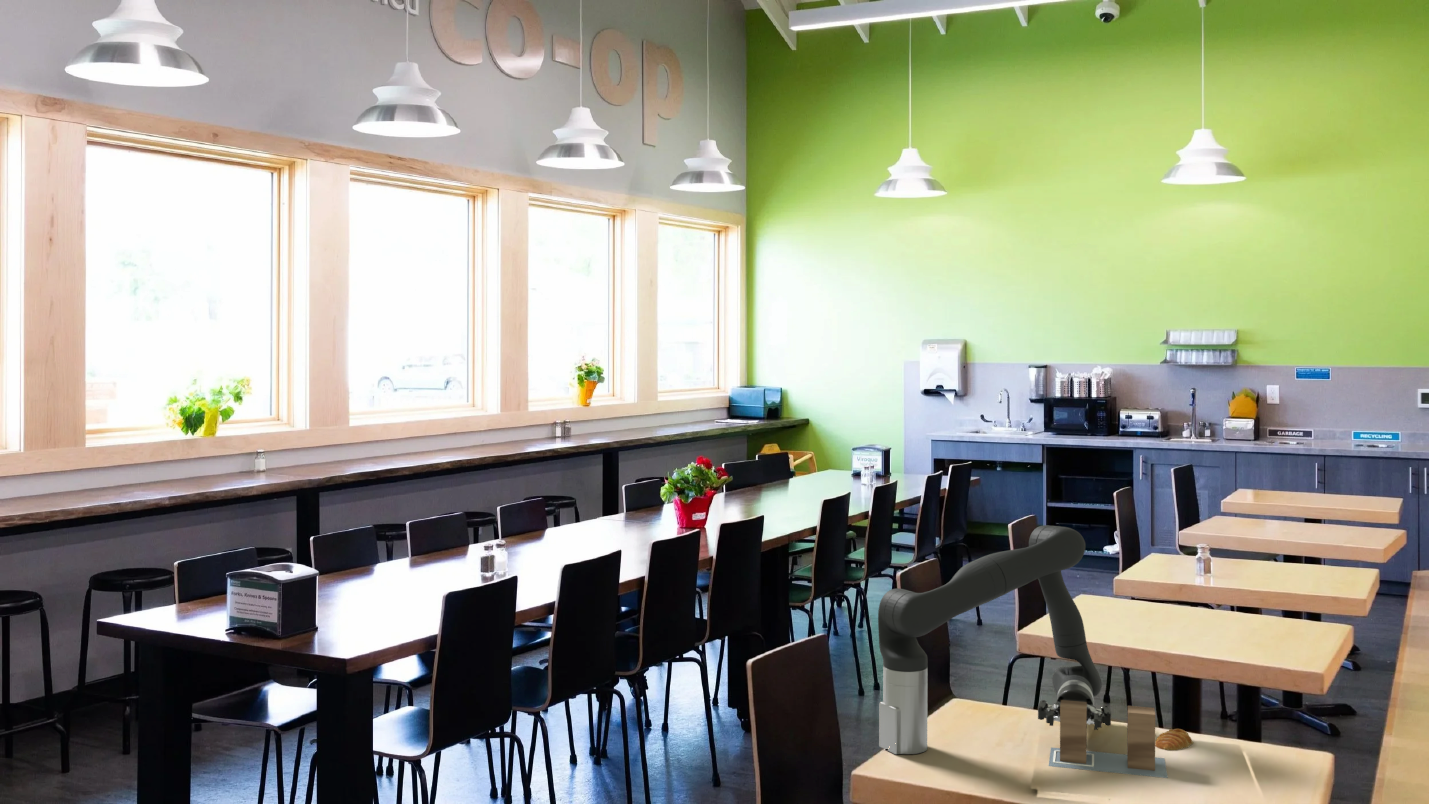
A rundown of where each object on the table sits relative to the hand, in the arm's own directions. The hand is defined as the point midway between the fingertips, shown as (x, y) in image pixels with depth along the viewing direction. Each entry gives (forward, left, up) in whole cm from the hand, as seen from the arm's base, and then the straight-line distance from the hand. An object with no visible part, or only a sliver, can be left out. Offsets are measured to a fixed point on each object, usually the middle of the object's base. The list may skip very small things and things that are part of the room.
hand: (1073, 723), depth 231 cm
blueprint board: (+6, -3, -9) cm, 11 cm away
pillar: (+1, +1, -8) cm, 8 cm away
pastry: (+27, -1, -10) cm, 29 cm away
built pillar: (+10, -8, -8) cm, 15 cm away
